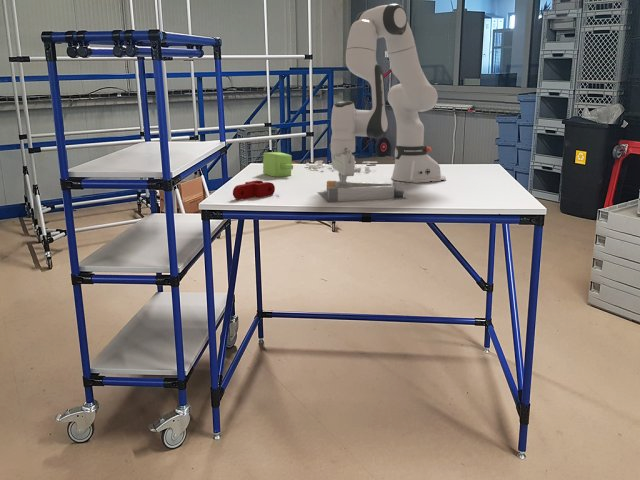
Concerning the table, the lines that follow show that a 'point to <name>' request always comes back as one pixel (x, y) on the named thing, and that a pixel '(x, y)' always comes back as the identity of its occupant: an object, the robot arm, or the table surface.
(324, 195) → the mat
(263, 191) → the mechanical linkage
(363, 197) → the block
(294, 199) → the table surface
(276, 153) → the gearbox
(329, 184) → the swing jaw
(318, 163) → the miniature set
